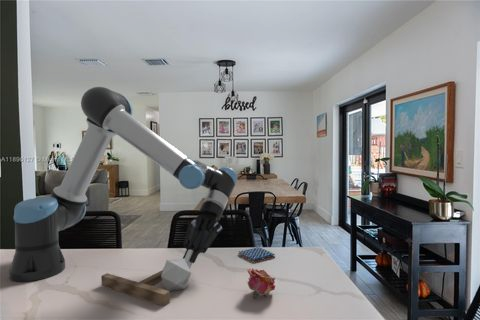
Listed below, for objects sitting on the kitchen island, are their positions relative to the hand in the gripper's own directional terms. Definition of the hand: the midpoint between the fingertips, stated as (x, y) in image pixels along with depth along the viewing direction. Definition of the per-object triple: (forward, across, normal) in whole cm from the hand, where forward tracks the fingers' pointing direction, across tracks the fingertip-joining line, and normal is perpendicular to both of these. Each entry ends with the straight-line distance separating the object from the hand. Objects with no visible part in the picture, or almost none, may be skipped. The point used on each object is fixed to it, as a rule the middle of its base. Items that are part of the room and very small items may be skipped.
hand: (183, 271), depth 91 cm
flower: (0, -24, -5) cm, 24 cm away
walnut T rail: (+6, +7, +2) cm, 9 cm away
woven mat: (-18, -10, -24) cm, 31 cm away
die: (+5, -1, +1) cm, 5 cm away
